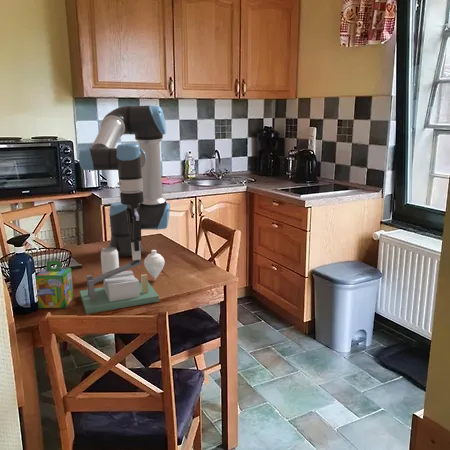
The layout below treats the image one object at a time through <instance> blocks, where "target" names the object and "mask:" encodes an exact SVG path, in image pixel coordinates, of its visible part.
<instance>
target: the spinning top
mask: <svg viewBox="0 0 450 450" xmlns="http://www.w3.org/2000/svg"><path fill="white" fill-rule="evenodd" d="M143 265H144V268H145V270H146V271H147V273H148V274H150V276H151V277H152V278H153V279H154V281H156V280H157V278H158V276H160V274H161V272H162V271H163V268H164V267H165V258H164V256H162V255H161V254H160V253H157V250H156V249H151V253H149V254H148V255H147V256H146V257H145V258H144V261H143Z"/></svg>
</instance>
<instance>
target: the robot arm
mask: <svg viewBox="0 0 450 450" xmlns="http://www.w3.org/2000/svg"><path fill="white" fill-rule="evenodd" d="M165 119H166V118H165V114H164V111H163V108H162V107H161V106H159V105H149V104H148V105H124V106H120V107H118V108H115V109H113V110H111V111H109V112H108V113H107V114H106V115H105V116H104V117H103V119H102V121H101V123H100V130H99V131H98V134H97V135H96V137H95V139H94V142H93V143H92V145H91V147H90V148H89V147H87V148H82V149H80V150H79V152H78V161H79V162H78V163H79V165H80V168H81V170H84V171H92V172H93V171H118V182H117V186H119V191H120V193H119V197H120V201H118V202H115V203H112V204H111V205H109V224H110V240H109V244H108V247H116V248H117V251H118V258H123V257H124V258H126V257H131V259H132V260H133V261H134V260H142V255H141V254H142V252H143V245H142V243H141V241H142V230H143V231H144V230H147V231H148V230H149V231H150V230H154V231H156V230H157V231H158V230H165V229H167V228H168V226H169V220H170V211H171V203H169V202H167V199H166V197H164V195H163V180H162V165H161V164H162V163H161V145H160V143H161V141H162V140H163V138H164V135H166V134H167V126H166V120H165ZM123 135H125V136H126V135H133V136H134V140H135V141H136V142H138V143H120V144H118V145H117V143H118V141H119V139H120V138H121V137H122V136H123Z"/></svg>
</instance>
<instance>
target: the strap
mask: <svg viewBox="0 0 450 450" xmlns="http://www.w3.org/2000/svg"><path fill="white" fill-rule="evenodd" d="M142 264H143V262H142V259H140V260H134V261H133V259H132V260H129V263H127V264H124V265H121V266H119V268H116V269H114V270H112V271H109V272H107V273H104V274H102V273H101V274H100V275H97V276H96V277H92V279H89V280H94V285H96V284H97V283H99V282H102V281H103V280H104V279H107V278H109V277H111V276H114V275H116V274H118V273H121V272H124V271H129V270H130V269H132V268H134V267H137V266H139V265H142Z"/></svg>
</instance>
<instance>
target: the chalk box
mask: <svg viewBox="0 0 450 450" xmlns="http://www.w3.org/2000/svg"><path fill="white" fill-rule="evenodd" d="M52 265H56V266H52ZM72 274H73V273H72V268H71V267H69V266H62V262H61V260H47V261H46V267H43V269H42V270H40V271H39V272H38V273H37V275H35V283H36V295H37V296H36V297H37V306H38V307H37V308H38V309H66V308H67V307H68V305H69V304H70V303H71V301H72V300H73V299H74V287H73V277H72Z"/></svg>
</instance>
